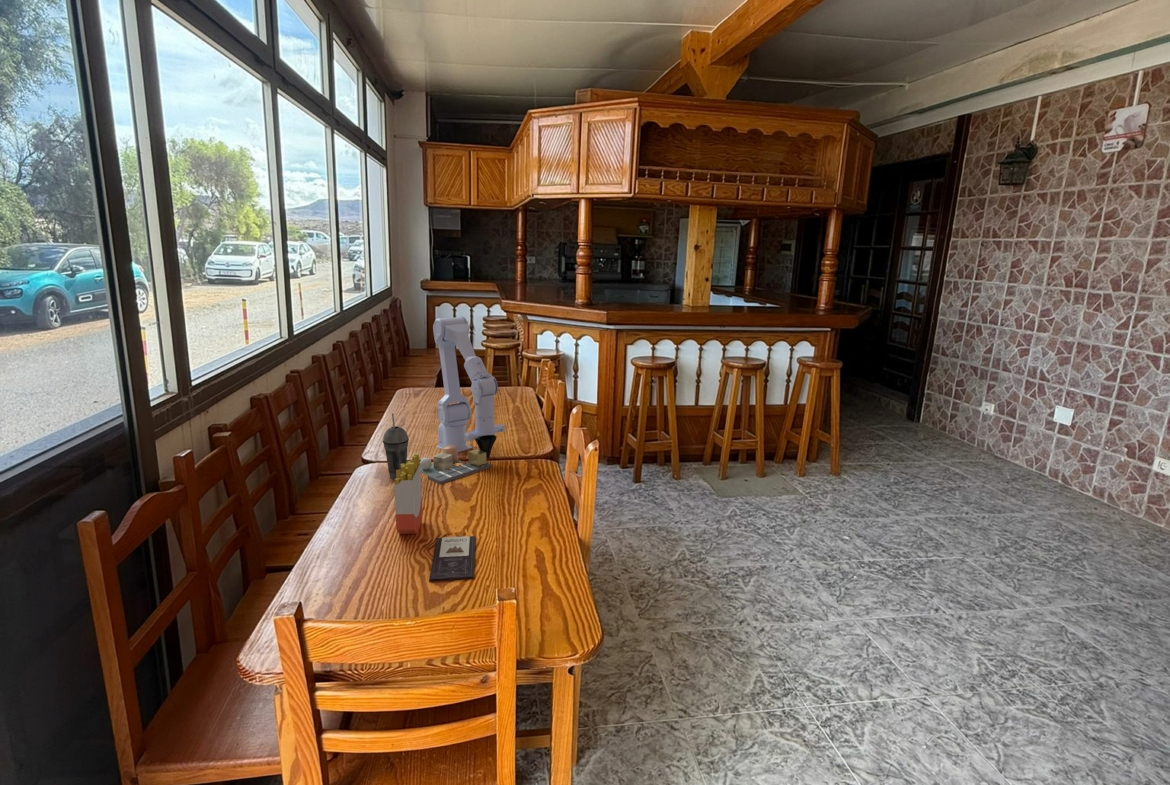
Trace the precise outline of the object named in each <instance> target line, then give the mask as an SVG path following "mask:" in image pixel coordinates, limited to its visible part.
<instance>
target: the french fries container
mask: <svg viewBox="0 0 1170 785" xmlns="http://www.w3.org/2000/svg"><path fill="white" fill-rule="evenodd" d="M400 466H401V470H396V477H397V478H396V479H395V480H394V484H395V485H394V505H395V508H394V509H395V510H394V511H395V512H394V513H395V525H396V529H395V530H396V531H397V533H398V534H399V535H417V534H418V532H419V529H420V526H421V525H422V515H423V495H422V493H423V492H422V472H421V469H420V454H419V453H414V454H413V455H412V456H411V460H407V463H406V464H401V465H400Z"/></svg>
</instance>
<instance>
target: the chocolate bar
mask: <svg viewBox="0 0 1170 785" xmlns="http://www.w3.org/2000/svg"><path fill="white" fill-rule="evenodd" d="M435 539H436V540H435V544H434V550H433V555H432V562H431V568H430V573H429V578H428V579H429V580H428V581H429V583H431V582H432V583H433V582H449V581H451V582H452V581H465V580H474V579H475V563H476V562H475V558H476V535H469V536H449V537H444V536H443V537H436V538H435Z"/></svg>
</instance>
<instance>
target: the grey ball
mask: <svg viewBox="0 0 1170 785" xmlns="http://www.w3.org/2000/svg"><path fill="white" fill-rule="evenodd" d="M419 463H420V467H421V468H422V469H424V470H427V469H429V468H430V467H431V465H432V464H433V462H432V460H431V459H430V458H428V457H423V458H421V459H420V460H419Z"/></svg>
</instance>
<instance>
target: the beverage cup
mask: <svg viewBox="0 0 1170 785" xmlns="http://www.w3.org/2000/svg"><path fill="white" fill-rule="evenodd" d="M391 419H392V426H391V427H389V428H388V429H387V430H386V431H384V435H383V436H382V437H383V438H382V443H383V446H384V449H385V457H386V463H387V468H388V469H387V470H388V475H389V479H391V480H394V481H395V479H396V478H397V477H396V470H401V466H400V465H401V464H406V463H407V461H408V447H409V441H410V439H409V435H408V433H407V431H406V430H405V429H404V428H403V427H400V426H398V425H397V426H396V425H395V424H396V423H395V416H394V412H392V413H391Z"/></svg>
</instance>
